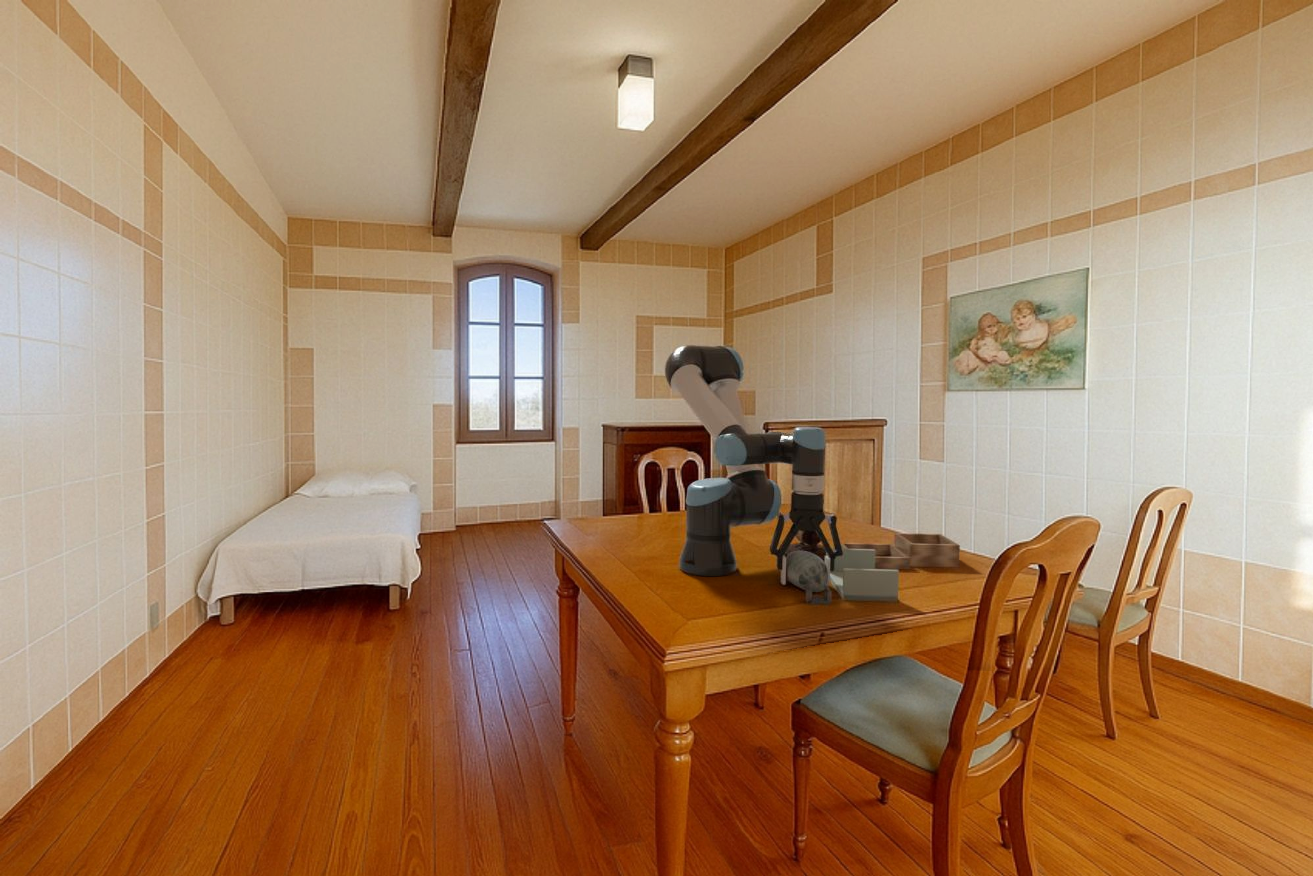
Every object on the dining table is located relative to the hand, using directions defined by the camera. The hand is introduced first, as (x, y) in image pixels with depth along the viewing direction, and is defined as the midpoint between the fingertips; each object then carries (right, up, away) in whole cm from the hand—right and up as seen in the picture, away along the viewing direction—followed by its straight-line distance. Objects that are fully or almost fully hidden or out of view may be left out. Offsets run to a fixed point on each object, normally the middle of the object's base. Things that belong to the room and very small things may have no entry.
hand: (804, 583), depth 152 cm
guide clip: (0, -2, -11) cm, 11 cm away
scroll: (+6, +1, +23) cm, 24 cm away
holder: (+13, -1, -1) cm, 13 cm away
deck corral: (+24, +1, +23) cm, 33 cm away
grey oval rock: (0, -1, 0) cm, 1 cm away
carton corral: (+39, +1, +24) cm, 46 cm away
